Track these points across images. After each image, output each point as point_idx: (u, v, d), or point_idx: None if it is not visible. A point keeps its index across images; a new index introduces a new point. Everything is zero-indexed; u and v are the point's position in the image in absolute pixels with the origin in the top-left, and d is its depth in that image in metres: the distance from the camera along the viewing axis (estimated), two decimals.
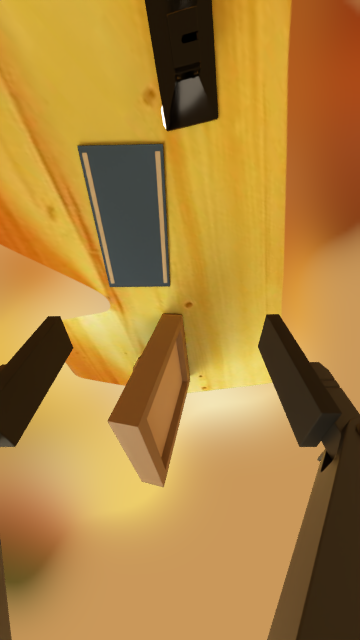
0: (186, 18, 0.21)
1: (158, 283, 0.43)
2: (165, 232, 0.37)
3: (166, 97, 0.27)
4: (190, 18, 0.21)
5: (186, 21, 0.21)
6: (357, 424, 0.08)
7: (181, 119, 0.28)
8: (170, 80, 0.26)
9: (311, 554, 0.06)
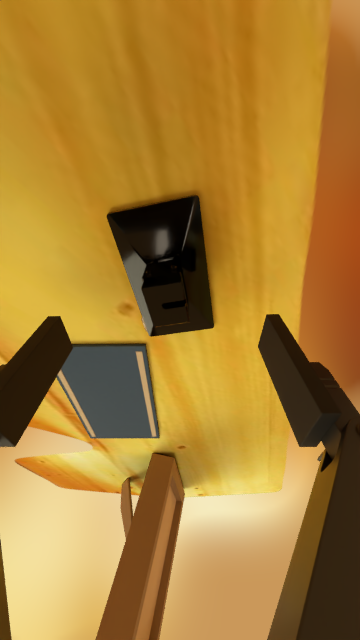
0: (167, 291, 0.15)
1: (146, 436, 0.37)
2: (152, 405, 0.31)
3: (147, 314, 0.21)
4: (173, 291, 0.15)
5: (167, 294, 0.15)
6: (357, 424, 0.08)
7: (167, 329, 0.23)
8: None
9: (311, 554, 0.06)
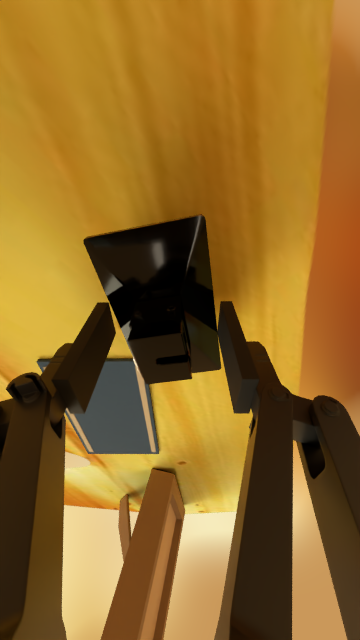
0: (163, 344, 0.11)
1: (145, 452, 0.36)
2: (151, 420, 0.30)
3: None
4: (171, 344, 0.11)
5: (163, 347, 0.11)
6: (269, 389, 0.09)
7: None
8: None
9: (242, 515, 0.06)
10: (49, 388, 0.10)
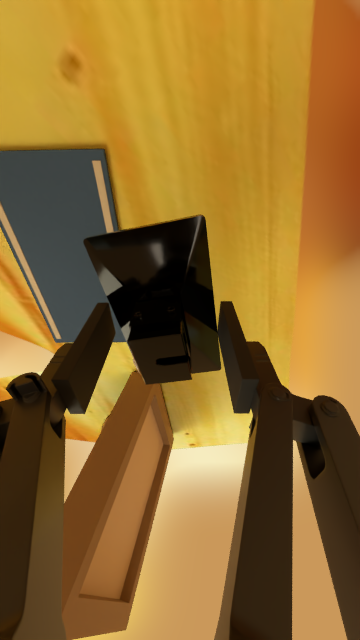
0: (163, 345, 0.11)
1: (121, 338, 0.31)
2: None
3: None
4: (171, 345, 0.11)
5: (163, 348, 0.11)
6: (269, 389, 0.09)
7: None
8: None
9: (242, 515, 0.06)
10: (49, 388, 0.10)
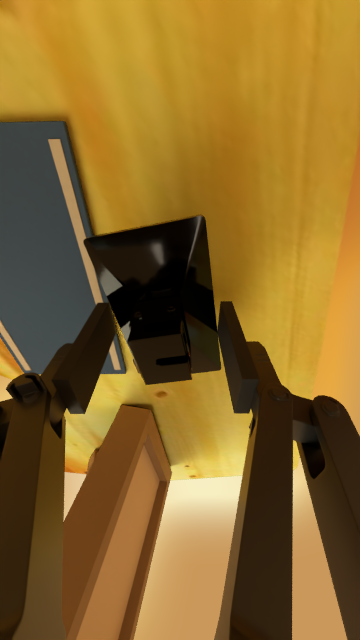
0: (163, 345, 0.11)
1: (106, 370, 0.25)
2: (104, 298, 0.19)
3: None
4: (171, 345, 0.11)
5: (163, 348, 0.11)
6: (268, 389, 0.09)
7: None
8: None
9: (242, 515, 0.06)
10: (49, 388, 0.10)
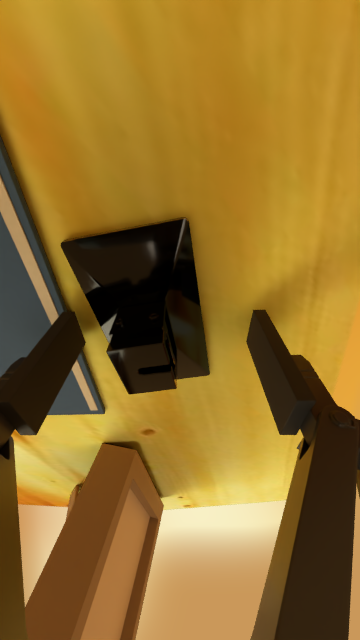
0: (145, 355, 0.11)
1: (80, 410, 0.21)
2: None
3: None
4: (152, 355, 0.11)
5: (145, 357, 0.11)
6: (330, 411, 0.08)
7: None
8: None
9: (290, 540, 0.06)
10: None
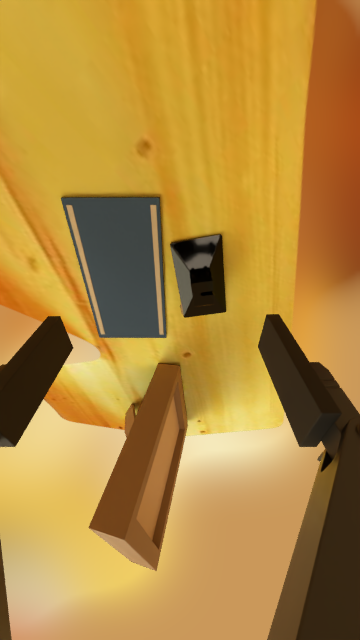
0: (204, 286, 0.28)
1: (153, 334, 0.38)
2: (161, 285, 0.33)
3: (185, 301, 0.34)
4: (207, 286, 0.28)
5: (204, 287, 0.28)
6: (357, 424, 0.08)
7: (196, 312, 0.35)
8: (189, 294, 0.33)
9: (311, 554, 0.06)
10: None
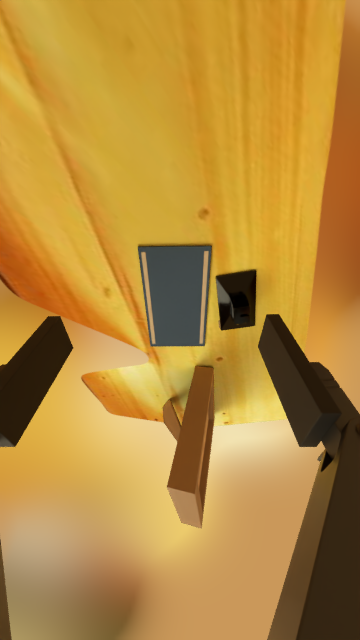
0: (244, 309, 0.37)
1: (194, 343, 0.48)
2: (205, 307, 0.42)
3: (223, 318, 0.43)
4: (246, 309, 0.37)
5: (243, 310, 0.37)
6: (357, 424, 0.08)
7: (231, 326, 0.45)
8: (227, 313, 0.42)
9: (311, 554, 0.06)
10: None
